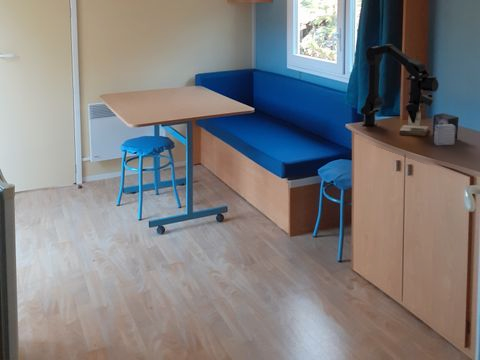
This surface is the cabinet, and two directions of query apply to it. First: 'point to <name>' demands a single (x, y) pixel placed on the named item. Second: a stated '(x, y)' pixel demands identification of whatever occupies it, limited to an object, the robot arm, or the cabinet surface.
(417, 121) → the maple cube
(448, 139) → the medicine box
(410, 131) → the beige flat square slab
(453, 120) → the small box
